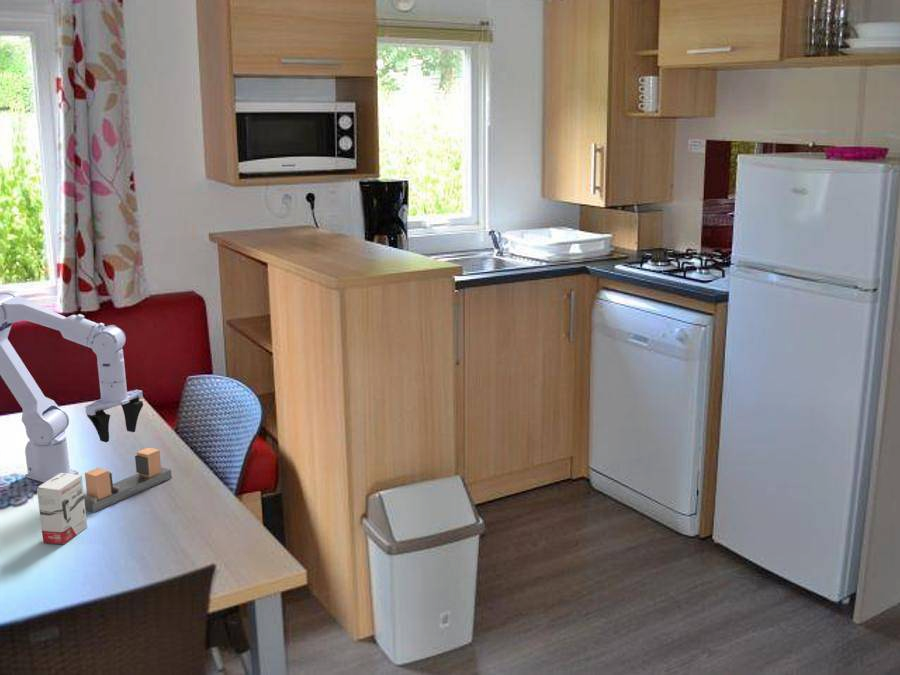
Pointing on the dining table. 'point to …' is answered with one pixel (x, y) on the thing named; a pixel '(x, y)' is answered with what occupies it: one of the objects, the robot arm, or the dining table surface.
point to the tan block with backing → (99, 483)
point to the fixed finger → (148, 462)
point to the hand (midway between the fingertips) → (118, 436)
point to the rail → (126, 489)
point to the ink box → (62, 508)
